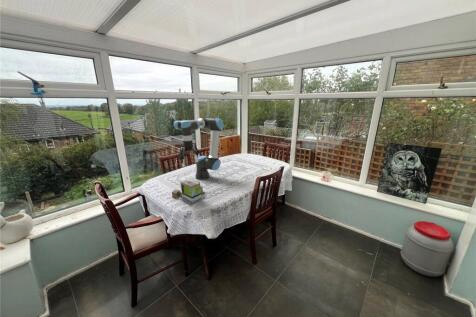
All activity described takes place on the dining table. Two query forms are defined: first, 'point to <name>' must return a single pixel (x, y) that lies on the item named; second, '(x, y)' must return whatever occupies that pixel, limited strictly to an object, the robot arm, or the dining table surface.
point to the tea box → (191, 190)
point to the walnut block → (176, 193)
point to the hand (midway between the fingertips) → (190, 164)
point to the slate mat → (190, 201)
